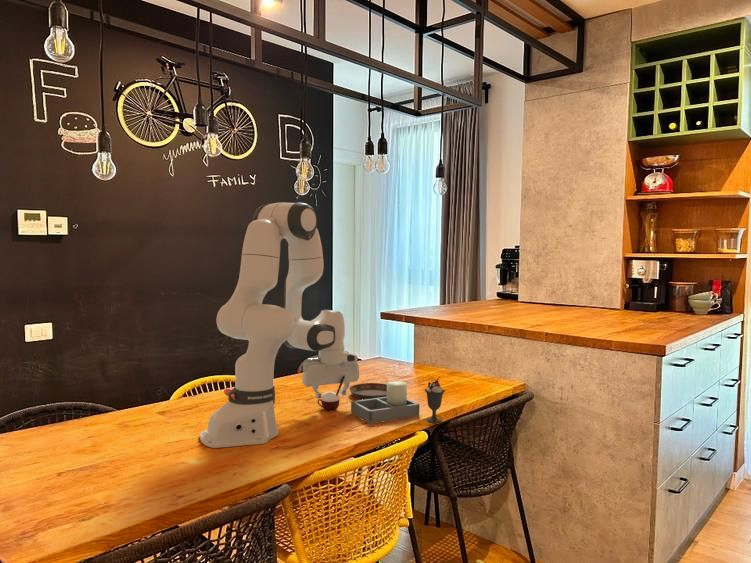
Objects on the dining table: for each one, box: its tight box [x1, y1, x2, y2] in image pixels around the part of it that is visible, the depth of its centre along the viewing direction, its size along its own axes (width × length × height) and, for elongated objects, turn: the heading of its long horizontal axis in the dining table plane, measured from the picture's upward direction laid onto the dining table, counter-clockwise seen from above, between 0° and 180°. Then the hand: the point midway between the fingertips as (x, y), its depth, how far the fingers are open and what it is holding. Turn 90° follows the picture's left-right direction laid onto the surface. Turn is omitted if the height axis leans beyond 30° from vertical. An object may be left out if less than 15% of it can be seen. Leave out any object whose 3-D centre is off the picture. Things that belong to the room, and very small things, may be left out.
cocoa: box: [317, 376, 345, 412], centre depth 193 cm, size 10×6×12 cm, turn 55°
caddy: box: [350, 380, 420, 425], centre depth 188 cm, size 19×13×10 cm
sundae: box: [424, 376, 446, 424], centre depth 182 cm, size 7×7×15 cm
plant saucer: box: [348, 382, 387, 400], centre depth 212 cm, size 18×18×3 cm
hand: (330, 396), depth 193 cm, fingers open, 8 cm apart
